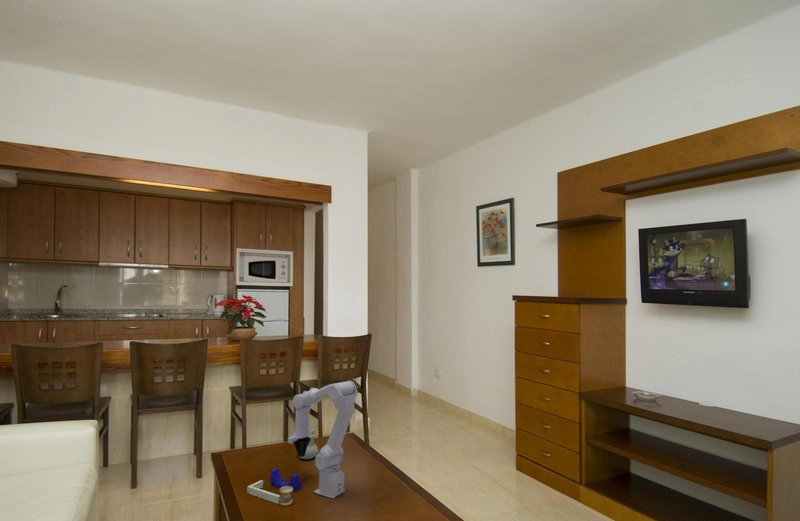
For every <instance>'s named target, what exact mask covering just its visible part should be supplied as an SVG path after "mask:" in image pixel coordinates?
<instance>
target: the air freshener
mask: <svg viewBox="0 0 800 521" xmlns="http://www.w3.org/2000/svg"><path fill="white" fill-rule="evenodd" d="M308 437H310V438H311V440H310V442H309V444H308V446H307V449H306V453H305V456H302V457H298V458H300V459H302V460H311V459H313V458H316V456H317V455H318V454H319V448H318V445H317V444H316V443H315V434H312V435H309V436H308Z"/></svg>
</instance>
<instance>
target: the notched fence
mask: <svg viewBox="0 0 800 521" xmlns="http://www.w3.org/2000/svg"><path fill="white" fill-rule="evenodd" d="M260 488H261V489H260ZM262 488H264V480H262V479H261V480H258V481H257V482H254V483H252V484H249V485H248V486H247V487H246V494H248V493H249V494H248V495H251V496H254V497H256V496H257V497H256V498H259V499H262V500H265V501H269V502H271V503H274V504H276V505H280V504H279V501H280V499H281V498H282V495H280V494H276V493H273V492H270V491H267V490H264V489H262Z"/></svg>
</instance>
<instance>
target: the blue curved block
mask: <svg viewBox="0 0 800 521" xmlns="http://www.w3.org/2000/svg"><path fill="white" fill-rule="evenodd" d="M302 482H303V481H302V480H300V473H294V474H293V475H291V477H290V481H288V482H286V481H285V480H284V479H283V478H282V476H281V475H280V469H279V468H277V467H275V468H273V469H272V470H270V485H271V487H273V486H274V488H278V489H280V488H281V487H284V486H291V487H293V491H292V492H291V493H295V492H297V491H298V490H300V489H302ZM270 485H269V486H270Z"/></svg>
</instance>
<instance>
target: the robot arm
mask: <svg viewBox="0 0 800 521" xmlns="http://www.w3.org/2000/svg"><path fill="white" fill-rule="evenodd" d="M357 395H358V390H357V386H356V384H355V383H354V381H352V380H347V381H342V382H341V381H340V382H337V383H336V382H335V383H331V384H328V385H325V386H324V387H322V388H316V387H310V388H309V390H308V391H307V390H305V391H302V393H300V394H295V395H294V396H293V399H292V404H293V407H294V409H295V422H294V432H293V434H292V435H290V436H289V437H287V443H288V444H293V445H294V447H295V450H296V455H297V457H298V458H299V457H302V456H305V453H306V449H307V446H308V444H309V442H310V440H311V438H310V437H308V436H309V435H312V434H313V435H315V434H316V429H314V428H310V411H311V409H312V406H313V405H315V404H317V403H318V404H319V403H320V402H321V401H322V399H323V398H324V397H326V396H327V397H328V398H330V400H331V402H332V404H333V405H334V407H335V409H336V410H338V411H337V414H336V417H335V420H334V422H333V426H332V429H331V431H330V434H329V437H328V438H327V442H326V444H325V445H324V446H323V447H322V448H321V449H320V450H319V451H318V454H317V455H316V456H315V457H314V458H315V460H314V463H315V466H316V469H317V470H318V471H319V475H318V476H319V477H318V489H315V490H314V491H313V493H315V494H317V495H321V496H322V497H327V498H330V499H334V498H336V497H338V496H340V495H341V494H342V493H344V492H346V489H345V472H344V471H341V470H340V466H341V465H340V464H342V462H343V458H344V457H343V456H344V448H343V447H342V444H343V441H344V438H345V436H346V433H347V431H348V427H349V425H350V423H351V422H350V421H351V420H352V417H353V413H354V411H355V400H356V398H357Z"/></svg>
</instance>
